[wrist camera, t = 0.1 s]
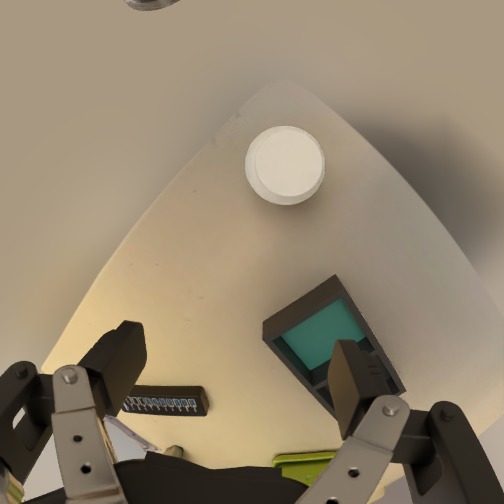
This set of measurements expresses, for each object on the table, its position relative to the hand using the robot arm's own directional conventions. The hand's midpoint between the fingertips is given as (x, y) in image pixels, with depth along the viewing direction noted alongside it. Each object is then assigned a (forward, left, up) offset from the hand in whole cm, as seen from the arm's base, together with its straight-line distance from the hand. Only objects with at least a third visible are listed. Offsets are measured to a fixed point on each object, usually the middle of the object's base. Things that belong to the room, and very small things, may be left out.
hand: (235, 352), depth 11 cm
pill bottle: (-4, +7, -22) cm, 23 cm away
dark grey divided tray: (+19, 0, -22) cm, 29 cm away
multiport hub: (+12, -26, -22) cm, 36 cm away
